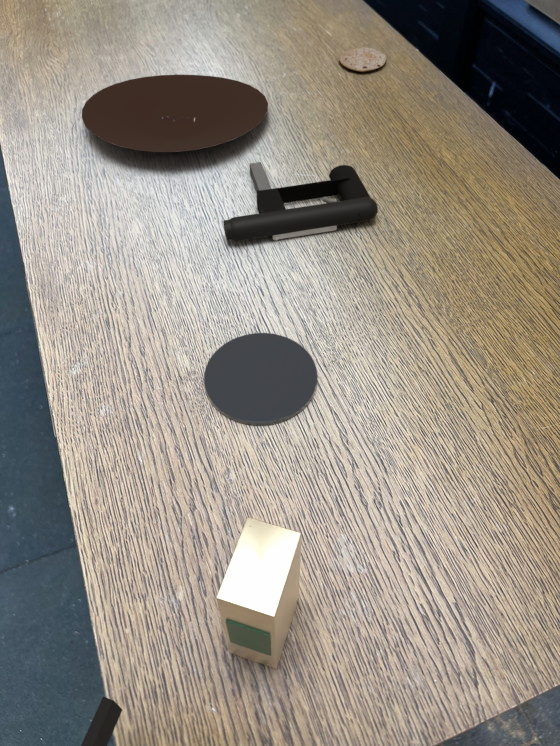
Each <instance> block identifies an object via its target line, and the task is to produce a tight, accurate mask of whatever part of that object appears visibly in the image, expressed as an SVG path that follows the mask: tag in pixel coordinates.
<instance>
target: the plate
mask: <svg viewBox="0 0 560 746" xmlns="http://www.w3.org/2000/svg"><path fill="white" fill-rule="evenodd" d="M268 112H269V102H268V100H267V98H266V96H265V95H264V94H263V93H262V92H261V91H260V90H259V89H257V88H256V87H254V86H253V85H250V84H248V83H245V82H242V81H239V80H235V79H230V78H228V77H227V78H226V77H221V76H214V75H213V76H212V75H203V74H202V75H200V74H159V75H150V76H142V77H138V78H137V77H136V78H132V79H127V80H123V81H119V82H117V83H114V84H111V85H109V86H107V87H104V88H102V89H100V90H99V91H97V92H95V93H94V94H93V95H91V96H90V97H89V98H88V99H87V100H86V101H85V102H84V105H83V107H82V109H81V120H82V122H83V124H84V127H85V128H86V129H88V130H89V132H91V134H93V135H94V136H96V137H97V138H98V139H101V140H102V141H104V142H106V143H109V144H111V145H115V146H117V147H120V148H124V149H125V148H126V149H130V150H132V151H133V150H134V151H141V152H150V153H151V152H152V153H179V152H189V151H196V150H203V149H206V148H211V147H216V146H218V145H221V144H222V145H223V144H226V143H228V142H231V141H234V140H235V139H238V138H239V137H241V136H244V135H246V134H247V133H249V132H250V131H252V130H253V129H254V128H256V127H258V126H259V124H260V123H261V122H262V121H264V119H265V118H266V115H267V113H268Z"/></svg>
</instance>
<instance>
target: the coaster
mask: <svg viewBox="0 0 560 746" xmlns="http://www.w3.org/2000/svg"><path fill="white" fill-rule="evenodd" d="M203 382H204V383H203V384H204V391H205V394H206V396H207V398H208V400H209V402H210V403H211V405H212V406H213V407H214V409H216V410H217V412H219V413H220V414H221V415H222V416H225V417H226V418H228V419H229V420H232V421H233V422H237V423H240V424H243V425H249V426H259V427H260V426H272V425H276V424H280V423H283V422H285V421H289V420H290V419H291V418H294V417H295V416H297V415H298V414H300V413H301V412H302V411H303V410H304V409H305V408H306V407H307V406H308V405H309V404H310V402H311V401H312V400H313V398H314V395H315V393H316V390H317V385H318V370H317V366H316V363H315V361H314V359H313V357H312V356H311V354H310V353H309V352H308V351H307V349H306V348H305V347H304V346H303V345H301V344H299V343H298V342H297V341H295V340H293V339H292V338H289V337H286V336H284V335H280V334H276V333H272V332H271V333H270V332H255V333H248V334H243V335H240V336H237V337H235V338H232V339H230V340H228V341H227V342H225V343H224V344H223V345H221V346H220V347H219V348H218V349H217V350H215V351H214V353H213V354H212V355H211V357H210V358H209V360H208V362H207V363H206V366H205V370H204V376H203Z"/></svg>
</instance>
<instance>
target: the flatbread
mask: <svg viewBox="0 0 560 746" xmlns="http://www.w3.org/2000/svg"><path fill="white" fill-rule="evenodd" d="M387 59H388V57H387V54H386V53H382V52H381V51H379V50H377V49H375V48H372V47H370V46H367V47H366V46H365V47H356V48H352V49H347V50H345V51H344V52H342V53H340V54H339V56H338V61H339V62H340V64H341V65H342V66H344V67H345V68H347V69H349V70H352V71H356V72H361V73H362V72H363V73H364V72H370V71H374V70H376V69H377V70H378V69H379V68H381V67H383V66H384V65H385V64H386V63H387Z"/></svg>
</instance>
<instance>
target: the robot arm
mask: <svg viewBox="0 0 560 746" xmlns="http://www.w3.org/2000/svg"><path fill="white" fill-rule="evenodd" d="M122 712H123V708H122V707H121V706H120V705H119V704H118V703H117V701H115V700H113V699H110V698H109V697H105V696H102V698H101V700H100V703H99V705H98V707H97V709H96V712H95V714H94V716H93V718H92V720H91V723H90V724H89V727H88V729H87V731H86V734H85V736H84V738H83V740H82V743H81V745H80V746H108V745H109V742H110V740H111V738H112V735H113V733H114V730H115V728H116V726H117V723H118V721H119V719H120V717H121V714H122Z"/></svg>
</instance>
